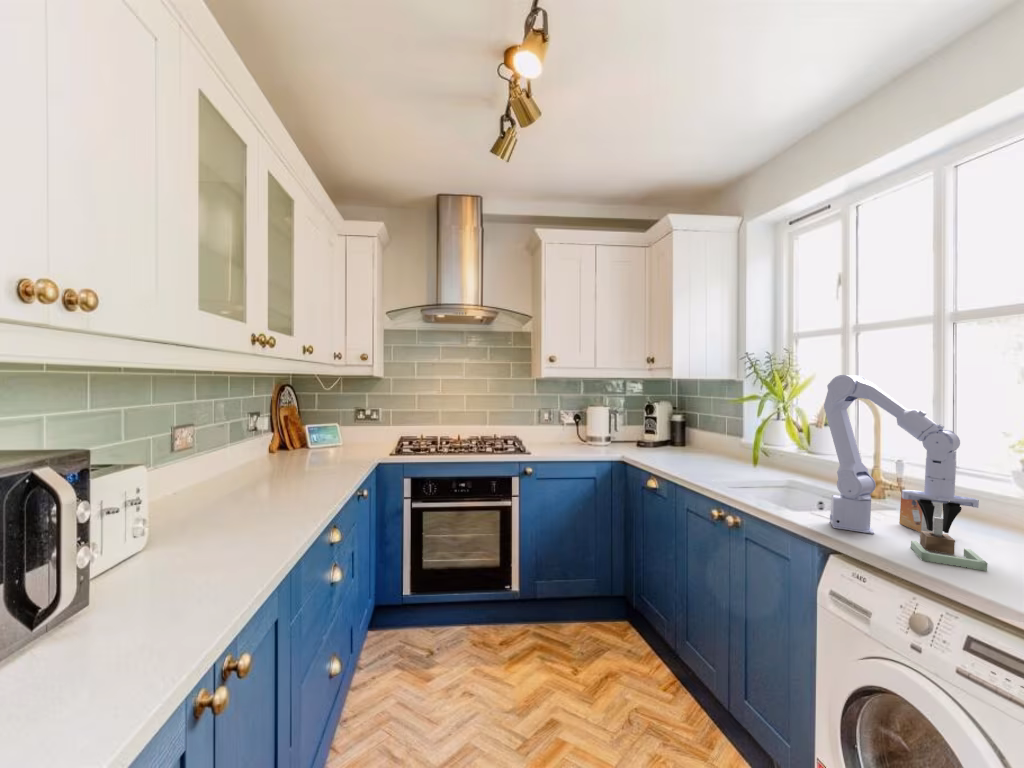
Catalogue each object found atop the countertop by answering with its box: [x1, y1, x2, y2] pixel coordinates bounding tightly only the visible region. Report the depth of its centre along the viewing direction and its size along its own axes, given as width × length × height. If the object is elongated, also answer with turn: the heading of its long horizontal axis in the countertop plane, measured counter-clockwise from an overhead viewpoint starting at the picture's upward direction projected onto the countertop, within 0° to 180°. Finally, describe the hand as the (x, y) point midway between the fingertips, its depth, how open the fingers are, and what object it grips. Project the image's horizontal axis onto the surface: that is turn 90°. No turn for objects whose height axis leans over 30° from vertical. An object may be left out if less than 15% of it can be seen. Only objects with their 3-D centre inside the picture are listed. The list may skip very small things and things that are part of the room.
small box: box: [898, 489, 943, 533], centre depth 138 cm, size 8×6×10 cm
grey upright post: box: [932, 516, 944, 537], centre depth 121 cm, size 2×2×8 cm
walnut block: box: [919, 531, 956, 555], centre depth 121 cm, size 5×5×4 cm
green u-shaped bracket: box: [910, 540, 988, 572], centre depth 115 cm, size 11×10×2 cm
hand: (937, 530), depth 121 cm, fingers open, 2 cm apart
